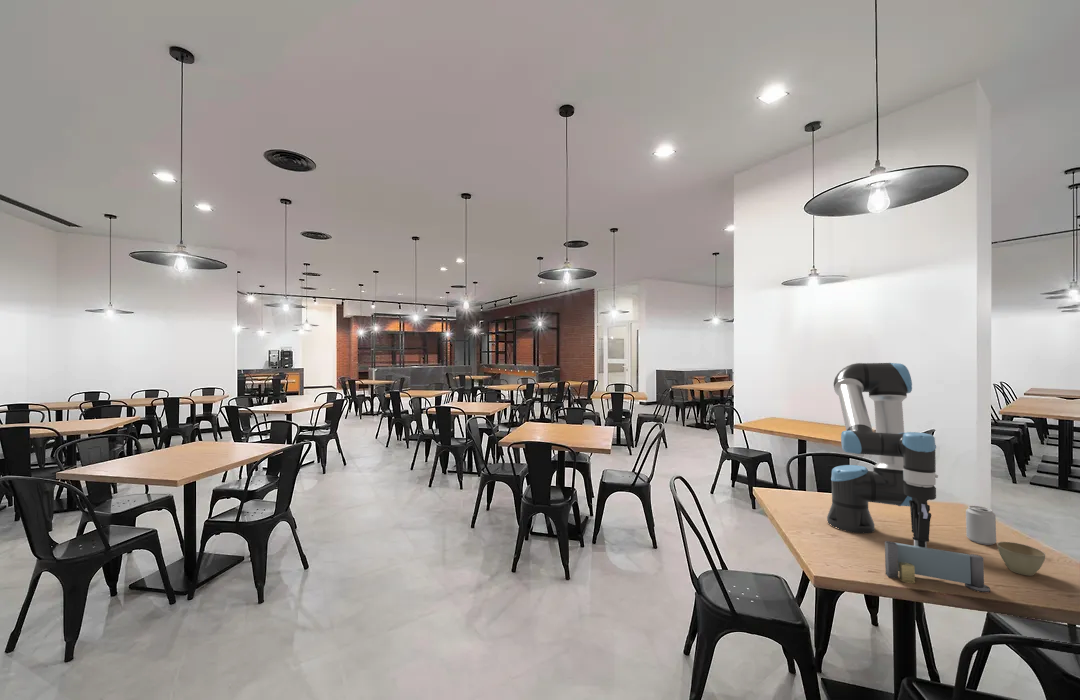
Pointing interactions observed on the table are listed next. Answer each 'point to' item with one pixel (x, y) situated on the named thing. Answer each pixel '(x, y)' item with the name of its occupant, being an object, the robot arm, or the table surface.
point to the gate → (943, 564)
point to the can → (981, 525)
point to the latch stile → (892, 564)
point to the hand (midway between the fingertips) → (920, 560)
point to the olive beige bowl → (1021, 557)
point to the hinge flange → (978, 588)
